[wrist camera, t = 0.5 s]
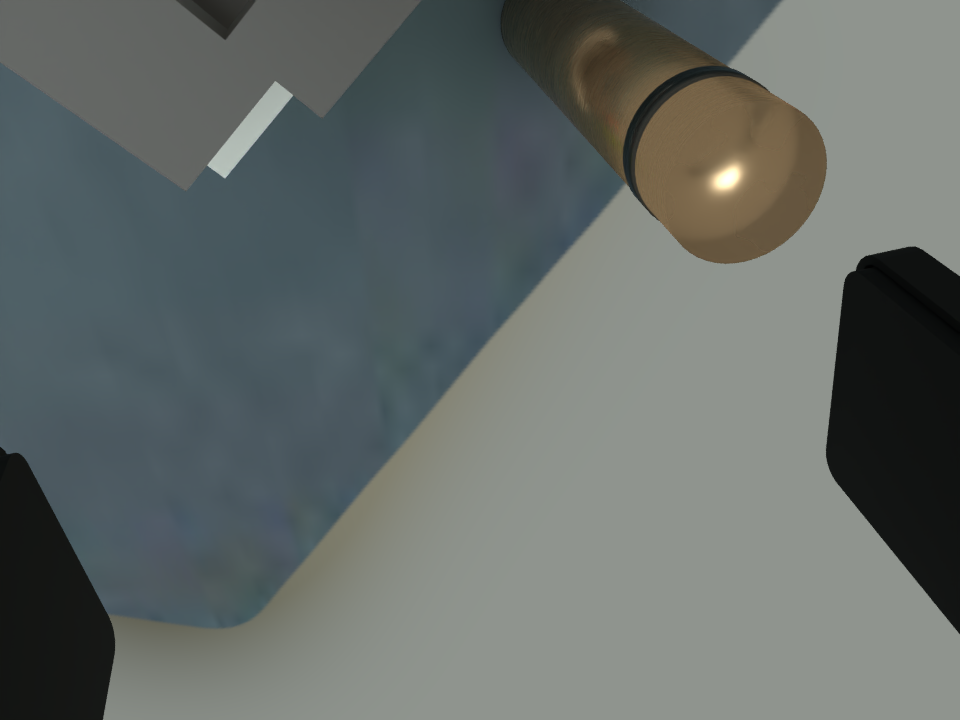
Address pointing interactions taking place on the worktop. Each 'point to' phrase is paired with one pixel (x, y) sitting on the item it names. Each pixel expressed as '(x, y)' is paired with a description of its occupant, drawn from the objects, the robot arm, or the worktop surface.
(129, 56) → the collar stand
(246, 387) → the worktop surface
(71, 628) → the robot arm
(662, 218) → the thermos bottle
